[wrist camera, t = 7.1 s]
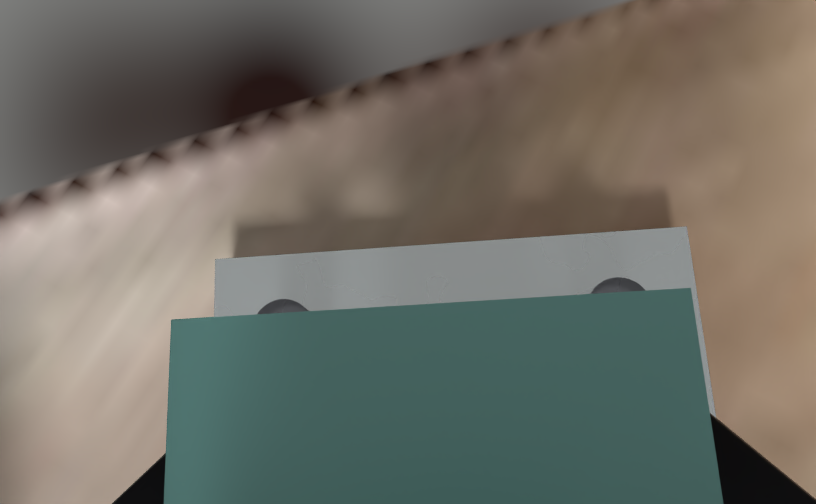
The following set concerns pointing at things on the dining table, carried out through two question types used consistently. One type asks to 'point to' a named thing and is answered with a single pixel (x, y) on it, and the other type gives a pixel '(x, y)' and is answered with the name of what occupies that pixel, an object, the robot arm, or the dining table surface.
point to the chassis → (461, 274)
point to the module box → (444, 404)
